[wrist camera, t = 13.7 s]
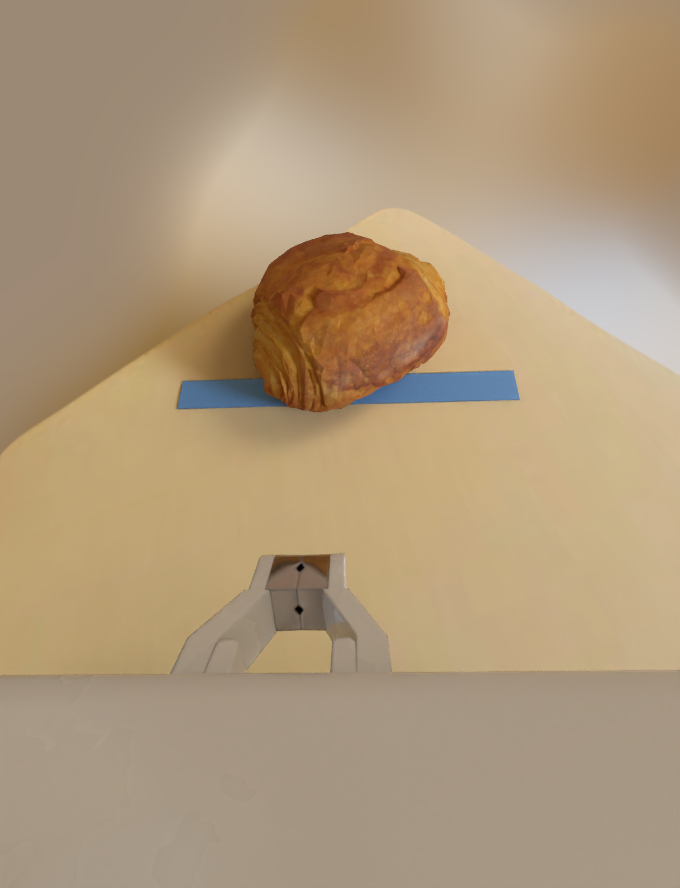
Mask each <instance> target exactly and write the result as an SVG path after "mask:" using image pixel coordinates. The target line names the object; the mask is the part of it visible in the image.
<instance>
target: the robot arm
mask: <svg viewBox="0 0 680 888" xmlns="http://www.w3.org/2000/svg"><path fill="white" fill-rule="evenodd" d="M292 630H323V631H327V633H328V635H329V637H330V639H331V641H332V654H331V669H330V673H246V671H247V669H248V668H249V667H250V666H251V664H252V663H253V662H254V660H255V659H256V658H257V657H258V655H259V654H260V653H261V652H262V650H263V649H264V648H265V646H266V645H267V644H268V643H269V641H270V640H271V639H272V638H273V636H274V635H275V634H276V631H292ZM0 888H680V670H620V671H488V672H392V670H391V661H390V653H389V644H388V636H387V635H386V634H385V632H384V631H383V630H382V629H381V627H380V626H379V625H378V624H377V623H376V621H375V620H374V619H373V618H372V616H371V615H370V614H369V613H368V611H367V610H366V609H365V608H364V607H363V605H362V604H361V603H360V602H359V600H358V599H357V598H356V597H355V595H354V594H353V593H352V592H351V590H350V589H349V588H347V585H346V562H345V554H344V553H340V554H319V555H262V556H261V557H260V558H259V561H258V564H257V567H256V570H255V573H254V575H253V578H252V581H251V584H250V587H249V590H244V591H243V592H241V593H240V594H239V595H238V596H237V597H236V598H234V599H233V600H232V601H231V602H230V603H228V604H227V605H226V606H225V607H224V608H222V609H221V610H220V611H219V612H218V613H216V614H215V615H214V616H213V617H212V618H210V619H209V620H208V621H207V622H206V623H205V624H203V625H202V626H201V627H200V628H199V629H197V630H196V631H195V632H194V633H193V634H191V635H190V636H189V637H188V638H187V640H186V642H185V644H184V646H183V648H182V650H181V652H180V654H179V656H178V658H177V660H176V663H175V665H174V667H173V669H172V671H171V673H170V674H93V675H0Z"/></svg>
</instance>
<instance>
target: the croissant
mask: <svg viewBox="0 0 680 888" xmlns="http://www.w3.org/2000/svg"><path fill="white" fill-rule="evenodd" d="M253 302H254V308H253V310H252V314H251V317H252V323H253V325H254V327H255V329H256V331H255V334H254V342H253V346H254V356H253V360H254V363H255V367H256V368H257V370H258V372H259V373H260V374H261V376H262V378H263V380H264V391H265V392H266V393H267V394H268V395H271V396H273V397H275V398H277V399H279V400H281V402H284V403H285V404H286V405H288V406H289V407H293V408H298V409H301V410H309V411H313V412H323V411H329V410H331V409H341V408H343V407H345V406H347V405H349V404H351V403H352V402H354V401H355V400H358V399H361V398H363V397H365V396H368V395H370V394H371V393H373V392H374V391H376V390H377V389H379V388H380V387H384V386H386V385H389V384H391V383H395V382H397V381H399V380H400V379H402V378H403V377H404V376H405V375H406V374H407V373H408V372H409V371H412V370H413V369H415V368H418V367H419V366H420V365H421V364H423V363H425V362H427V361H428V360H429V359H430V358H431V357H432V356H433V355H434V354H435V352H436V351H437V350H438V349H439V347H440V346H441V345H442V343H443V342H444V341H445V338H446V335H447V328H448V321H449V316H450V311H449V308H448V306H447V295H446V292H445V284H444V281H443V280H442V278H441V277H440V275H439V274H438V272H437V271H436V269H435V268H434V267H433V266H432V265H431V264H430V263H427V262H420V261H419V259H418V258H416V257H414V256H413V255H411V254H408V253H404V252H400V251H396V250H390V249H388V248H386V247H384V246H382V245H379V244H377V243H375V242H374V241H373V240H372V239H368V238H365V237H362V236H358V235H355V234H353V233H349V232H346V233H341V234H332V235H324V236H322V237H319V238H316V239H312V240H309V241H306V242H303V243H301V244H299V245H296V246H294V247H292V248H290V249H289V250H287V251H286V252H285V253H284V254H282V255H281V256H279V257H278V258H277V259H276V260H274V261H273V262H272V263H271V264H270V265H269V266H268V268H267V270H266V272H265V274H264V276H263V278H262V280H261V282H260V284H259V286H258V288H257V290H256V292H255V296H254V299H253Z"/></svg>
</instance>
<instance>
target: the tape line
mask: <svg viewBox="0 0 680 888" xmlns="http://www.w3.org/2000/svg"><path fill="white" fill-rule="evenodd" d="M519 399H520V398H519V394H518V390H517V385H516V381H515V376H514V372H513V371H486V372H455V373H423V374H406V375H405V376H404V377H403V378H402V379H400V380H399V381H397V382H395V383H391V384H389V385H386V386H384V387H380V388H379V389H377V390H376V391H374V392H373V393H371V394H370V395H368V396H365V397H363V398H361V399H358V400H355V401H354V402H352V403H351V404H374V403H411V402H447V401H484V400H519ZM265 406H288V405H286V404H285V403H284V402H281V400H279V399H277V398H275V397H273V396H271V395H268V394H267V393H266V392H265V391H264V380H263V379H235V380H204V381H183V383H182V388H181V393H180V398H179V403H178V408H177V409H192V408H228V407H265Z"/></svg>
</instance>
